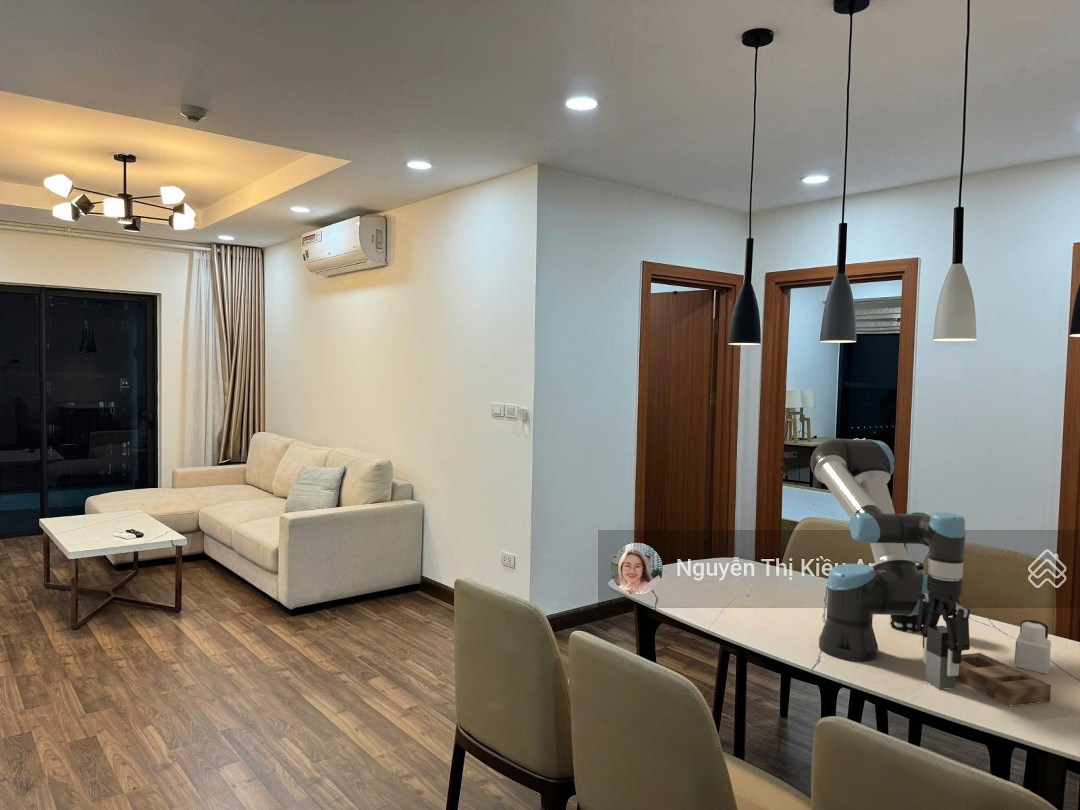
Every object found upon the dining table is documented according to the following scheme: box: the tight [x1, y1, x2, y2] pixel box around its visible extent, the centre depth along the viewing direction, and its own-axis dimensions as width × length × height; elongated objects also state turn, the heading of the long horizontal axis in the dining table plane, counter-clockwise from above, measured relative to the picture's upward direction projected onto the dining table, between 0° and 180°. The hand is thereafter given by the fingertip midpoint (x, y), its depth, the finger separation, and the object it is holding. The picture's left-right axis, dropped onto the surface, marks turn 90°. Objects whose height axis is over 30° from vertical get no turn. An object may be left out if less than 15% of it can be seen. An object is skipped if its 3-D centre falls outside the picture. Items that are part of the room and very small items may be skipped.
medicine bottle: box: [1014, 619, 1052, 675], centre depth 191 cm, size 7×7×12 cm
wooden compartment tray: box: [955, 652, 1052, 707], centre depth 178 cm, size 12×20×4 cm, turn 14°
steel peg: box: [924, 625, 957, 690], centre depth 177 cm, size 4×4×14 cm
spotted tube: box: [889, 559, 925, 633], centre depth 218 cm, size 8×8×20 cm
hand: (940, 668), depth 178 cm, fingers open, 7 cm apart
